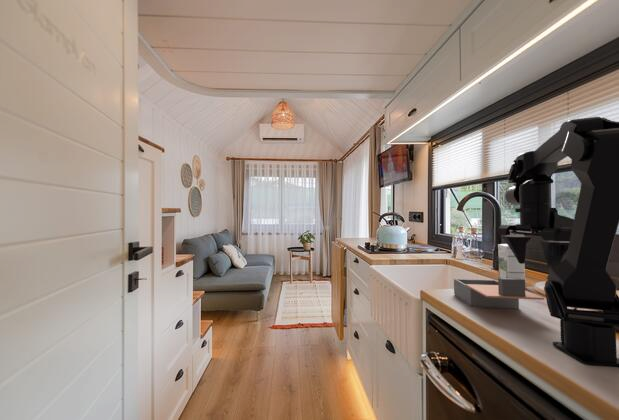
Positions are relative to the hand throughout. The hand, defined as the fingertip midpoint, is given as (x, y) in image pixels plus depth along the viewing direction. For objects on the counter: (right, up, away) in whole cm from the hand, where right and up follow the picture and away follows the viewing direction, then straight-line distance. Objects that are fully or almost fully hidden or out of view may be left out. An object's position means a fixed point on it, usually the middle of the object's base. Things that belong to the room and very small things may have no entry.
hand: (536, 267), depth 60 cm
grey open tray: (-5, -13, +11) cm, 17 cm away
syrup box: (+17, -13, +28) cm, 36 cm away
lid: (-6, -7, +3) cm, 10 cm away
